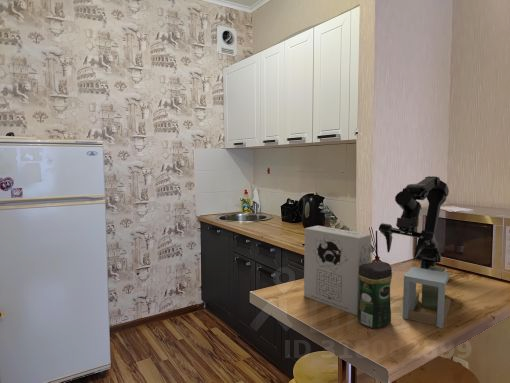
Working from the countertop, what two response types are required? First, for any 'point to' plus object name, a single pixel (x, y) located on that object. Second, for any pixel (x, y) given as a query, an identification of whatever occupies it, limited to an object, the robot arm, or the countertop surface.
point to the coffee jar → (375, 294)
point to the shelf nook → (412, 296)
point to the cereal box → (335, 266)
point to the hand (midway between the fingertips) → (401, 255)
